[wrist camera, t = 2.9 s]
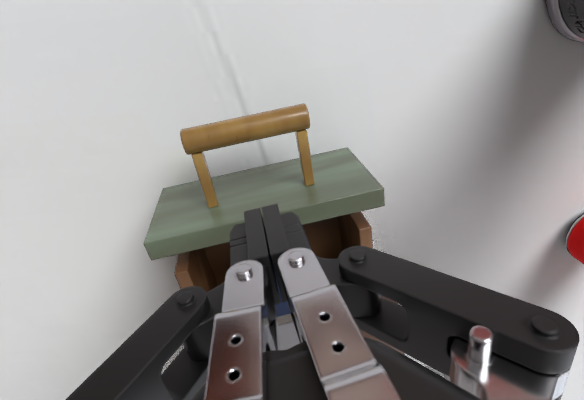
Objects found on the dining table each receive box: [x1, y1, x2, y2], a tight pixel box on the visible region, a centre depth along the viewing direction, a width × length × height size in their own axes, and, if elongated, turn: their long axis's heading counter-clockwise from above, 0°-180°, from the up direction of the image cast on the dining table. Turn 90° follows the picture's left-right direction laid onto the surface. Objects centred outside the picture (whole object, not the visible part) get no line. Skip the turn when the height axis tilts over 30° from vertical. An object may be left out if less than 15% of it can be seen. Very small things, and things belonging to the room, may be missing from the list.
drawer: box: [144, 104, 385, 292], centre depth 25 cm, size 20×14×7 cm
